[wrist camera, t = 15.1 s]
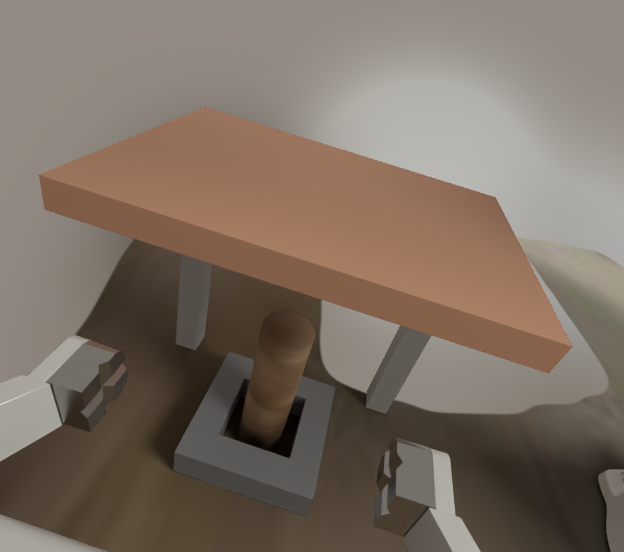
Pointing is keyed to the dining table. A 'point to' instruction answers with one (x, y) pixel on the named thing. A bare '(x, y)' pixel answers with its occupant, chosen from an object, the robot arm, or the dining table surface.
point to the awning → (309, 266)
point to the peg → (275, 377)
